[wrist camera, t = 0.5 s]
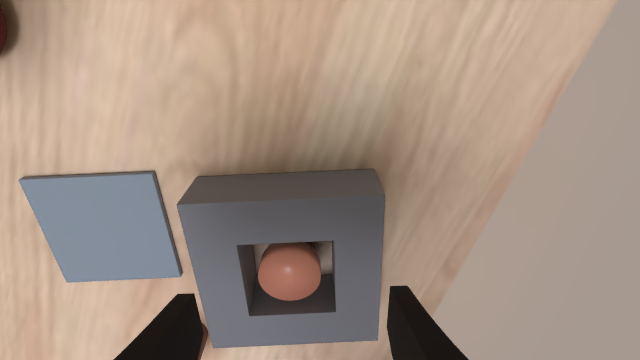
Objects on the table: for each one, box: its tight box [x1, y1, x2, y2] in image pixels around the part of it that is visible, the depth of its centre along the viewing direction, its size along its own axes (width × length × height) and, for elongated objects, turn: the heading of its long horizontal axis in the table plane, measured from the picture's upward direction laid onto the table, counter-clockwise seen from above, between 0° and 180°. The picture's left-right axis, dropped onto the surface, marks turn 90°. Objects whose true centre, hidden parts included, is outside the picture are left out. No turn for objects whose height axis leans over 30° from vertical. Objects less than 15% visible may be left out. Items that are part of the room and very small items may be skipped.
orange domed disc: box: [258, 242, 321, 301], centre depth 21 cm, size 4×4×1 cm
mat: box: [19, 171, 182, 282], centre depth 22 cm, size 8×8×1 cm
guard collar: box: [177, 169, 385, 348], centre depth 22 cm, size 11×11×4 cm
